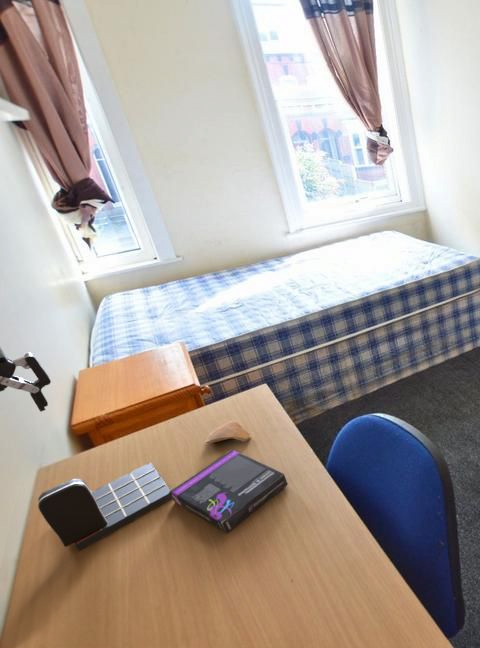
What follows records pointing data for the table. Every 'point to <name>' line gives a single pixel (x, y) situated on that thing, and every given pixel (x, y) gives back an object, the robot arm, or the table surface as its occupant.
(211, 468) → the box
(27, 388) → the robot arm
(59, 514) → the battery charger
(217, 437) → the pottery shard
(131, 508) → the board
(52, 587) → the table surface
